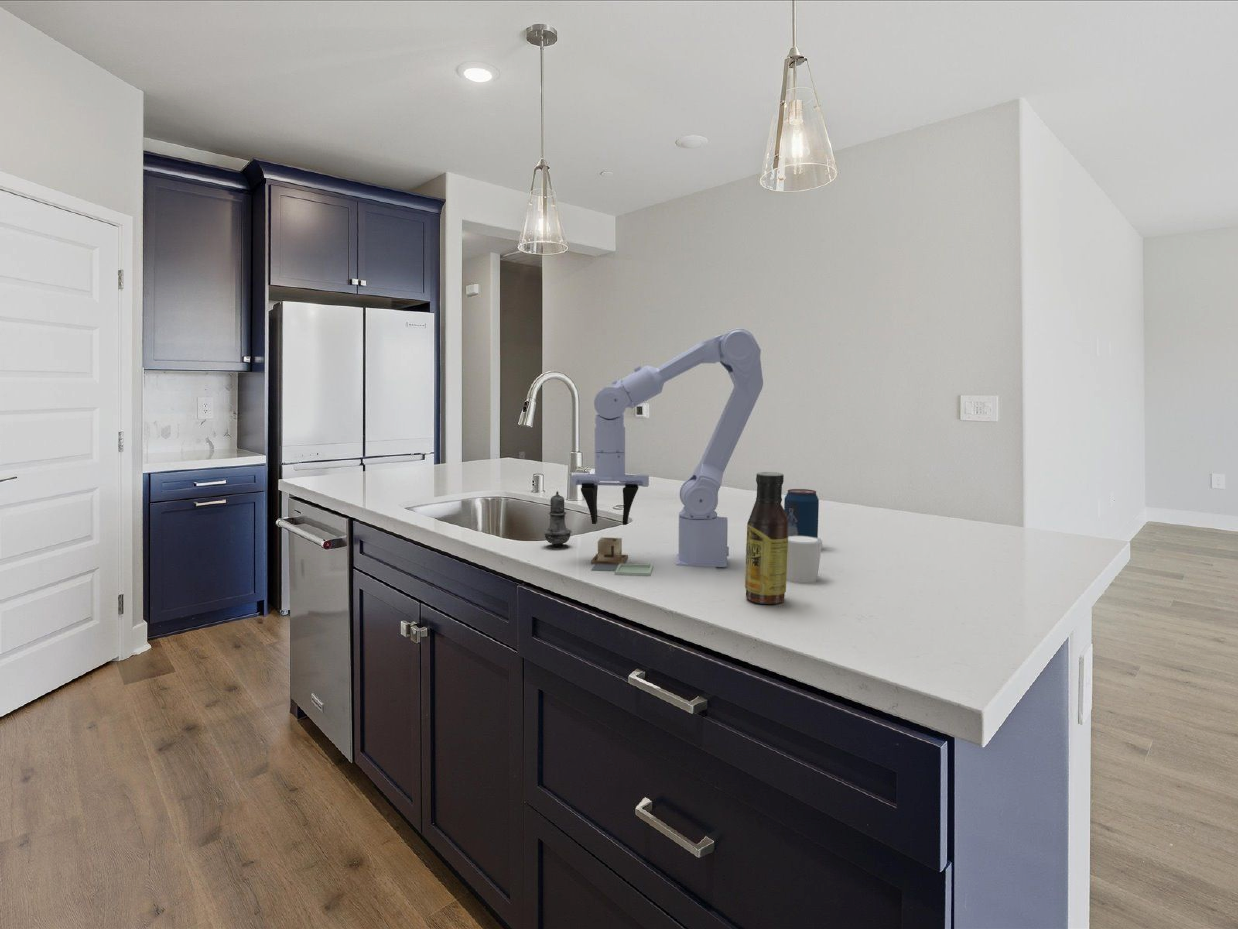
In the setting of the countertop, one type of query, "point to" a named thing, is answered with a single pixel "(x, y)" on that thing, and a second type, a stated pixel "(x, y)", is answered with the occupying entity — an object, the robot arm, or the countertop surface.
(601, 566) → the slate mat
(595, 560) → the walnut dish
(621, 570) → the stoneware dish
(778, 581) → the sauce bottle
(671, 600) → the countertop surface
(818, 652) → the countertop surface
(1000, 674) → the countertop surface
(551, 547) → the salt shaker
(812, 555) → the white tapered cylinder
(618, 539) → the letter cube
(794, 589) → the countertop surface
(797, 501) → the soda can
